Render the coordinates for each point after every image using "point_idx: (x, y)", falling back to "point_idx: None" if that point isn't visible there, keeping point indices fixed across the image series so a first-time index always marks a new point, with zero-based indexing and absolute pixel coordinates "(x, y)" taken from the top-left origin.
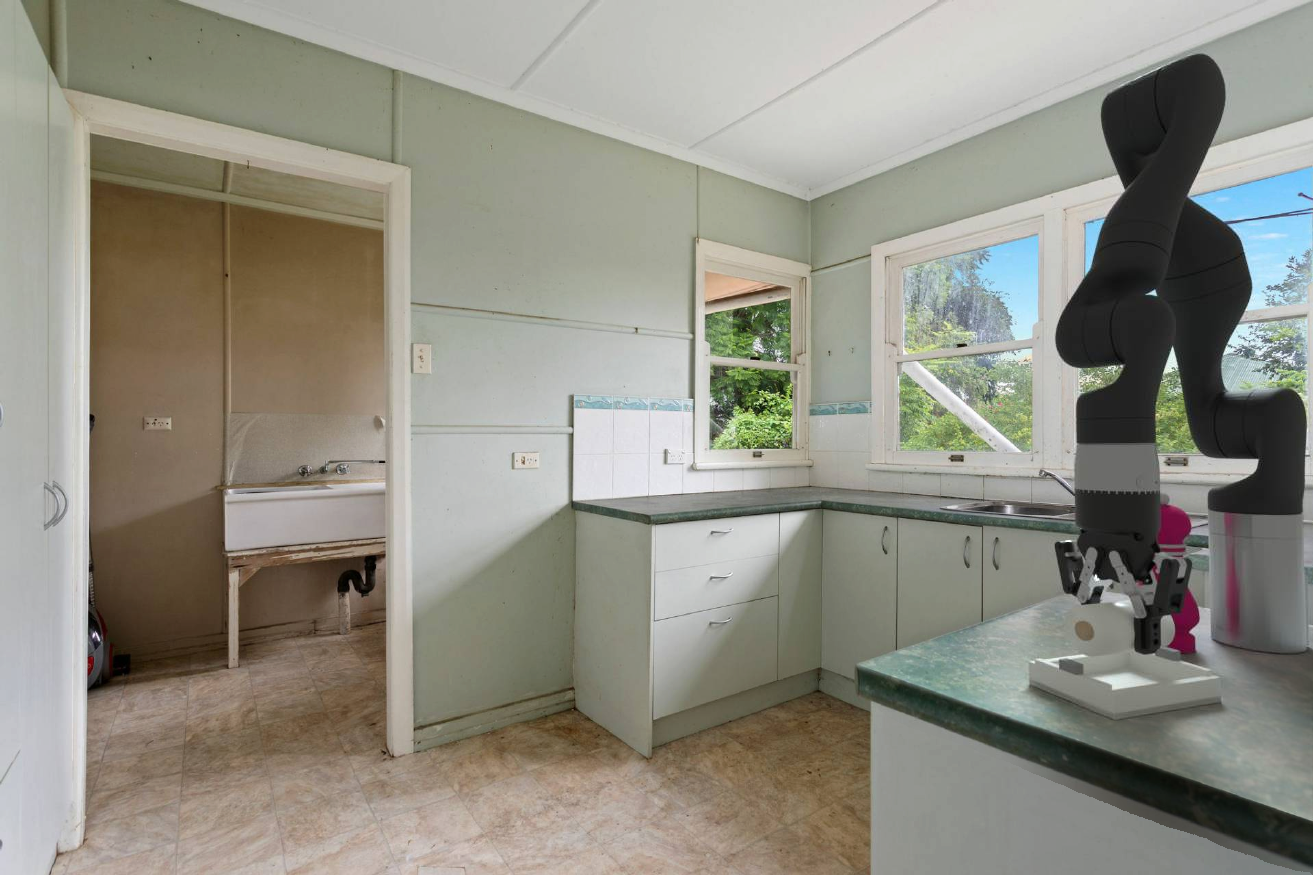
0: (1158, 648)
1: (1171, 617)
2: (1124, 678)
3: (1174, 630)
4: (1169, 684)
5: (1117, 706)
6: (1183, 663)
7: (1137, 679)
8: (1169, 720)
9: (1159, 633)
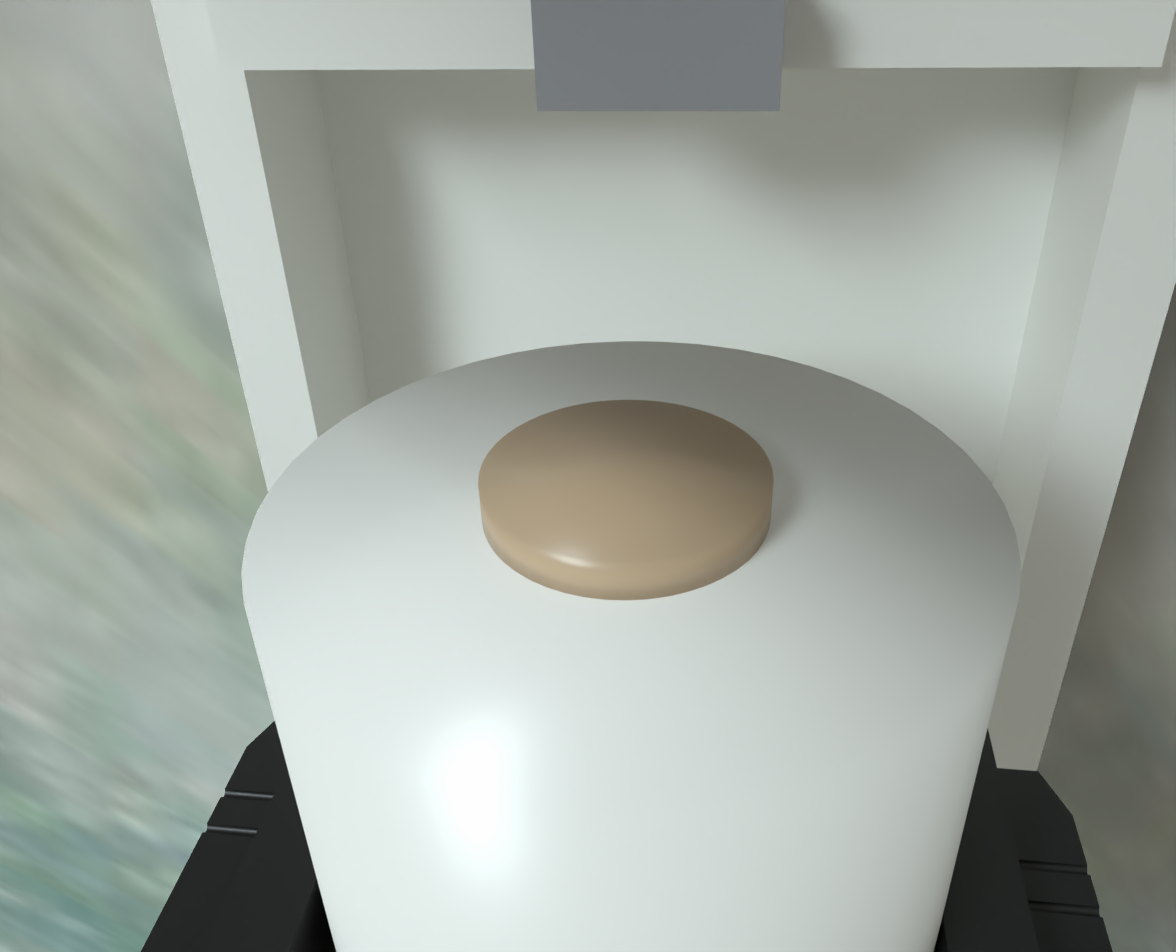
0: (1042, 790)
1: (995, 651)
2: (539, 317)
3: (1006, 525)
4: (1077, 585)
5: None
6: (876, 47)
7: (590, 245)
8: (1122, 609)
9: (1098, 939)
